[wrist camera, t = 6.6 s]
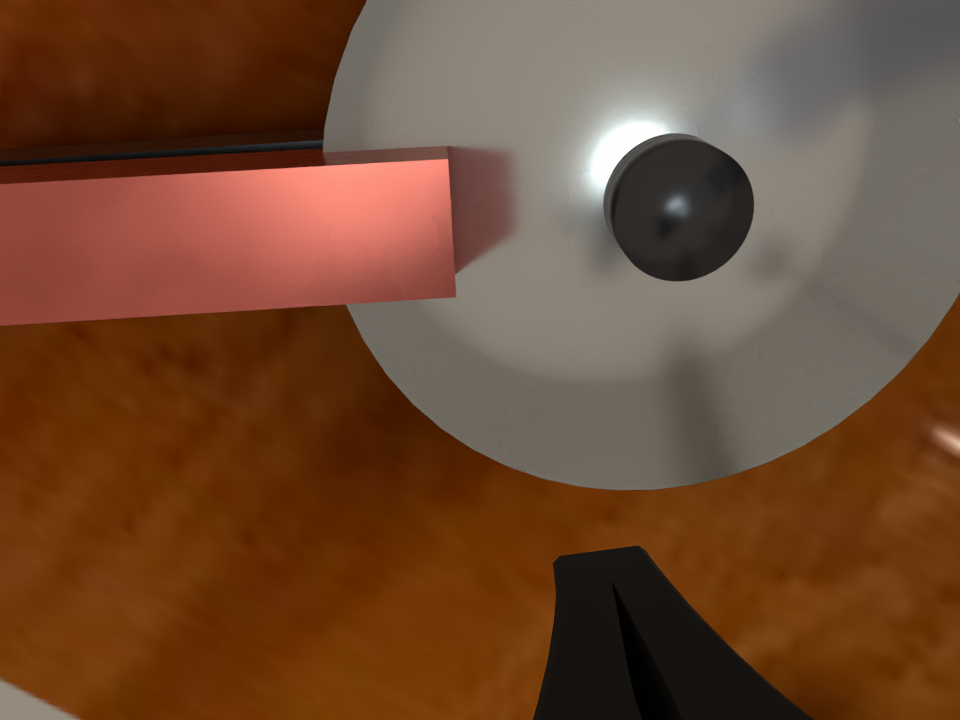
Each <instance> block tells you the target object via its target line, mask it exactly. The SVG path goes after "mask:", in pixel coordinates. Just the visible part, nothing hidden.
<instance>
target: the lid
mask: <svg viewBox="0 0 960 720" xmlns="http://www.w3.org/2000/svg"><path fill="white" fill-rule="evenodd" d="M959 292H960V0H367V2H366V4H365V6H364V7H363V9H362V11H361V13H360V15H359V17H358V19H357V21H356V23H355V25H354V27H353V29H352V31H351V34H350V37H349V40H348V42H347V45H346V48H345V51H344V54H343V57H342V60H341V62H340V65H339V68H338V71H337V74H336V77H335V80H334V84H333V89H332V94H331V99H330V103H329V108H328V113H327V118H326V123H325V128H324V141H323V149H306V150H288V151H270V152H252V153H234V154H216V155H198V156H180V157H162V158H144V159H126V160H108V161H91V162H73V163H55V164H37V165H19V166H1V167H0V326H4V325H20V324H36V323H52V322H68V321H84V320H100V319H117V318H133V317H149V316H165V315H181V314H197V313H213V312H229V311H245V310H262V309H278V308H294V307H310V306H326V305H342V304H346V306H347V308H348V310H349V312H350V314H351V316H352V318H353V320H354V322H355V324H356V326H357V328H358V330H359V332H360V334H361V336H362V338H363V340H364V342H365V343H366V345H367V346H368V348H369V349H370V351H371V352H372V354H373V355H374V357H375V358H376V360H377V361H378V362H379V364H380V365H381V367H382V368H383V370H384V371H385V373H386V374H387V375H388V377H389V378H390V379H391V380H392V381H393V382H394V383H395V384H396V386H397V387H398V388H399V389H400V390H401V391H402V392H403V393H404V395H405V396H406V397H407V398H408V399H409V400H410V401H411V402H412V404H414V405H415V406H416V407H417V408H418V409H419V410H421V411H422V412H423V413H424V414H425V415H426V416H427V417H429V418H430V419H431V420H432V421H433V422H434V423H436V424H437V425H438V426H439V427H440V428H441V429H443V430H444V431H446V432H447V433H449V434H450V435H452V436H453V437H455V438H456V439H458V440H459V441H461V442H462V443H464V444H465V445H467V446H469V447H470V448H472V449H473V450H475V451H477V452H479V453H481V454H483V455H485V456H487V457H489V458H491V459H493V460H495V461H497V462H499V463H501V464H503V465H505V466H508V467H511V468H514V469H516V470H519V471H522V472H525V473H528V474H531V475H534V476H537V477H539V478H542V479H547V480H552V481H556V482H561V483H565V484H570V485H574V486H580V487H590V488H600V489H610V490H654V489H662V488H670V487H678V486H686V485H693V484H697V483H702V482H706V481H710V480H714V479H718V478H723V477H727V476H731V475H733V474H736V473H739V472H742V471H745V470H748V469H750V468H753V467H756V466H759V465H762V464H765V463H767V462H769V461H771V460H774V459H776V458H778V457H780V456H782V455H784V454H786V453H788V452H790V451H792V450H795V449H797V448H799V447H801V446H803V445H805V444H806V443H808V442H810V441H811V440H813V439H814V438H816V437H818V436H819V435H821V434H823V433H824V432H826V431H828V430H829V429H831V428H833V427H834V426H836V425H837V424H839V423H840V422H841V421H843V420H844V419H845V418H847V417H848V416H849V415H851V414H852V413H853V412H855V411H856V410H857V409H859V408H860V407H861V406H862V405H864V404H865V403H866V402H868V401H869V400H870V399H871V398H872V397H874V396H875V395H876V394H877V393H878V392H879V391H880V390H881V389H882V388H883V387H884V386H885V385H886V384H887V383H889V382H890V381H891V380H892V379H893V378H894V377H895V376H896V375H897V374H898V373H899V372H900V371H901V370H902V369H903V368H904V367H905V366H906V364H907V363H908V362H909V361H910V360H911V359H912V357H913V356H914V355H915V354H916V353H917V352H918V351H919V349H920V348H921V347H922V346H923V345H924V344H925V342H926V341H927V340H928V339H929V338H930V336H931V335H932V333H933V332H934V330H935V329H936V328H937V326H938V325H939V323H940V322H941V320H942V319H943V318H944V316H945V315H946V313H947V312H948V310H949V309H950V308H951V306H952V305H953V303H954V301H955V300H956V298H957V296H958V294H959Z"/></svg>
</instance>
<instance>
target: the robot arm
mask: <svg viewBox="0 0 960 720" xmlns="http://www.w3.org/2000/svg"><path fill="white" fill-rule="evenodd" d="M553 568H554V577H555V587H556V604H555V616H554V624H553V631H552V637H551V644H550V650H549V656H548V661H547V666H546V670H545V674H544V679H543V683H542V687H541V691H540V695H539V700H538V704H537V707H536V711H535V714H534V718H533V720H814V719H812V718H811V717H810V716H808V715H807V714H806V713H805V712H803V711H802V710H801V709H800V708H798V707H797V706H796V705H795V704H793V703H792V702H791V701H790V700H788V699H787V698H786V697H785V696H784V695H782V694H781V693H780V692H779V691H778V690H777V689H775V688H774V687H773V686H772V685H771V684H770V683H769V682H767V681H766V680H765V679H764V678H763V677H762V676H761V675H760V674H758V673H757V672H756V671H755V670H754V669H753V668H752V667H751V666H750V665H749V664H748V663H747V662H745V661H744V660H743V659H742V658H741V657H740V656H739V655H738V654H737V653H736V652H735V651H734V650H733V649H732V648H731V647H730V646H729V645H728V644H727V643H726V642H725V641H724V640H723V639H722V638H721V637H720V636H719V635H718V634H717V633H716V632H715V631H714V630H713V629H712V628H711V627H710V626H709V625H708V624H707V623H706V622H705V621H704V620H703V619H702V618H701V616H700V615H699V614H698V613H697V612H696V611H695V610H694V609H693V608H692V607H691V606H690V605H689V603H688V602H687V601H686V600H685V599H684V598H683V597H682V595H681V594H680V593H679V592H678V591H677V590H676V589H675V587H674V586H673V585H672V584H671V583H670V581H669V580H668V579H667V578H666V577H665V575H664V574H663V573H662V572H661V570H660V569H659V568H658V567H657V565H656V564H655V563H654V561H653V560H652V559H651V558H650V556H649V555H648V553H647V552H646V551H645V550H644V549H642V548H641V547H640V546H632V547H624V548H617V549H609V550H602V551H594V552H587V553H579V554H572V555H564V556H559V557H558V559H557V560H556V561H555V562H554V563H553Z"/></svg>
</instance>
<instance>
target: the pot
mask: <svg viewBox="0 0 960 720" xmlns="http://www.w3.org/2000/svg"><path fill="white" fill-rule="evenodd" d="M323 141H324V128H321V129H306V130H291V131H276V132H260V133H245V134H230V135H215V136H200V137H184V138H169V139H154V140H139V141H124V142H108V143H93V144H78V145H63V146H48V147H32V148H17V149H2V150H0V167H1V166H19V165H37V164H55V163H73V162H91V161H108V160H126V159H144V158H162V157H180V156H198V155H216V154H234V153H252V152H270V151H288V150H306V149H323Z"/></svg>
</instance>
